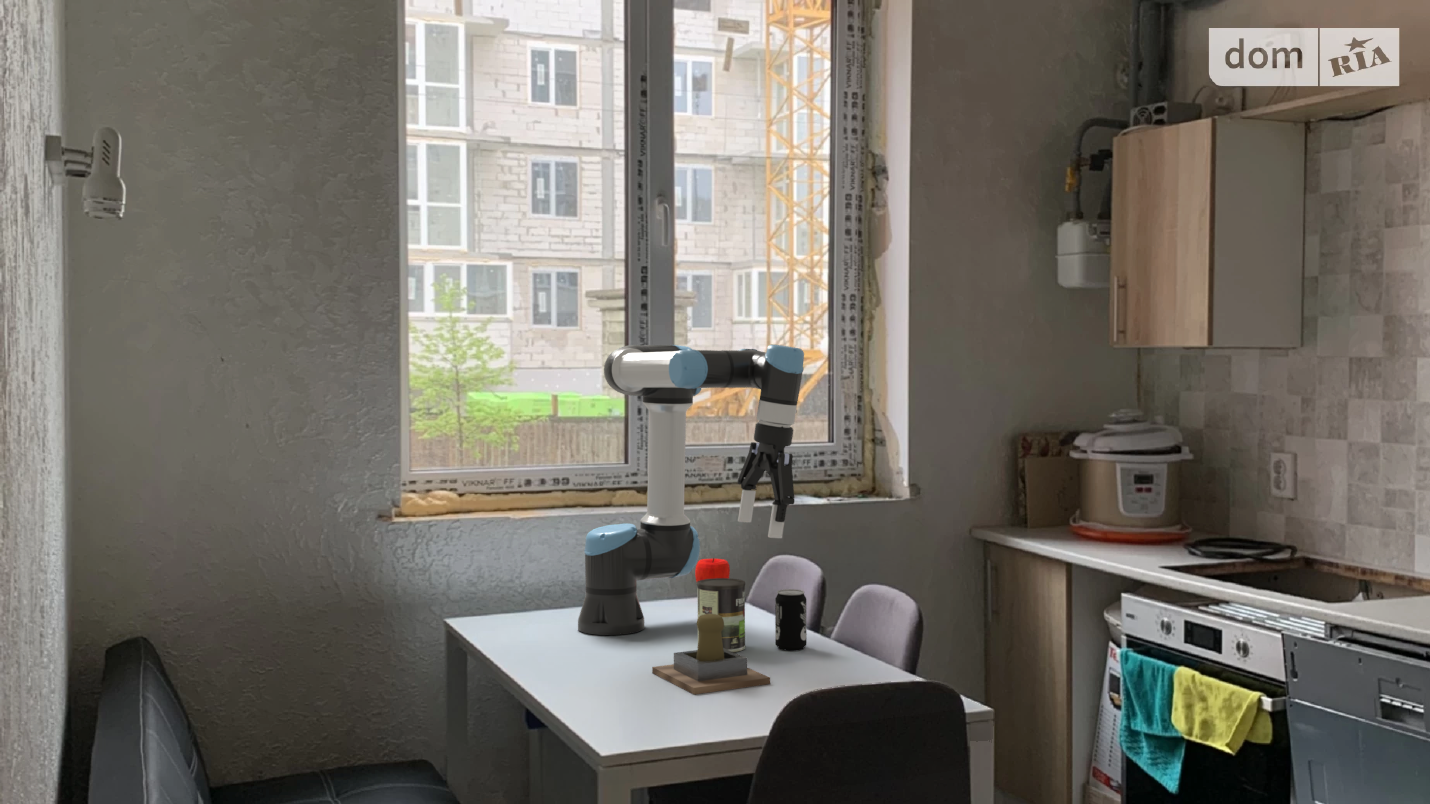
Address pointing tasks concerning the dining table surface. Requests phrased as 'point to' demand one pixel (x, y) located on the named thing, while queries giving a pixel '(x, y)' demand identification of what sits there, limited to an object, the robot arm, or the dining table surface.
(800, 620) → the beverage can
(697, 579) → the apple
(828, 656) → the dining table surface
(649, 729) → the dining table surface
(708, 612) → the coffee can
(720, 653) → the cork
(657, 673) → the socket plate
